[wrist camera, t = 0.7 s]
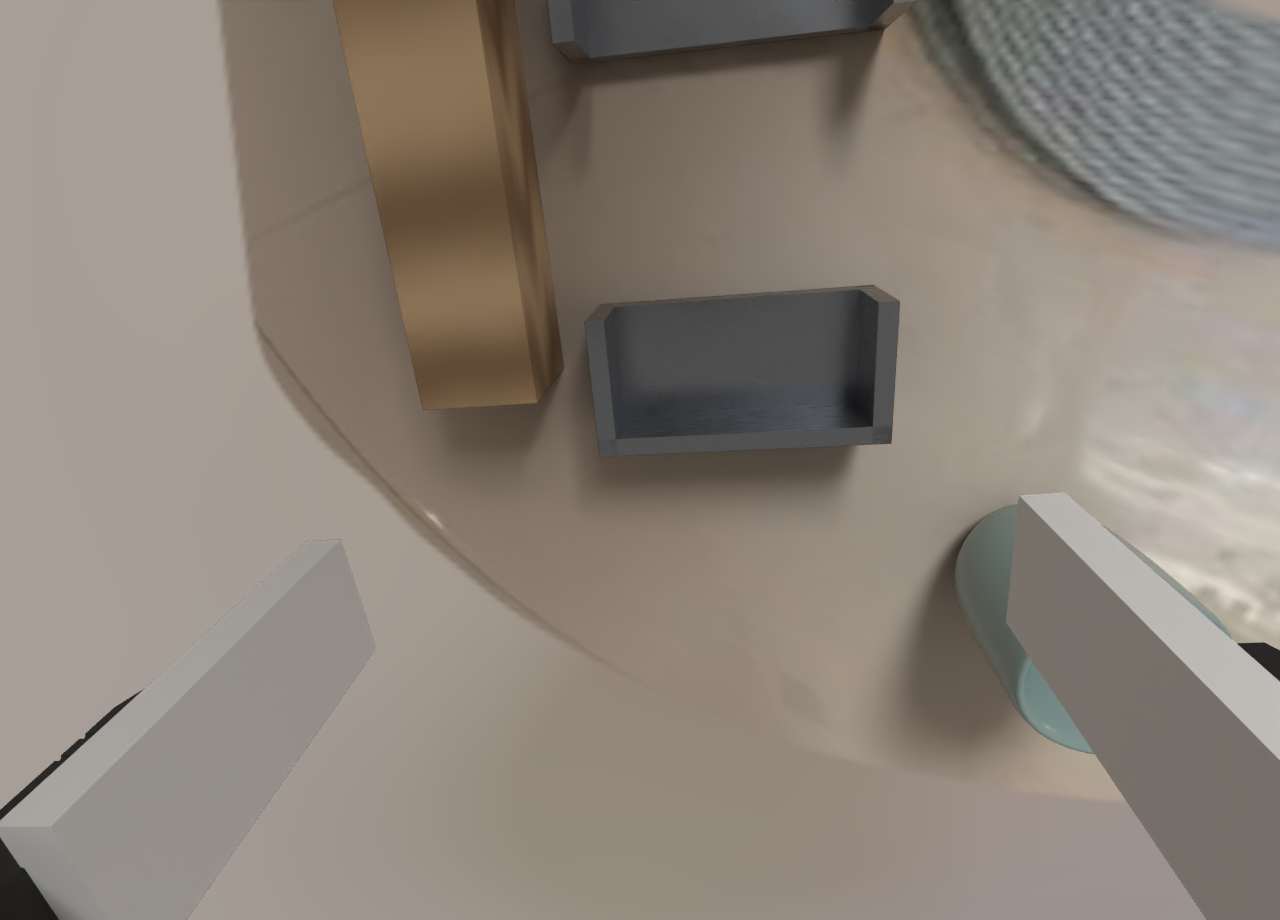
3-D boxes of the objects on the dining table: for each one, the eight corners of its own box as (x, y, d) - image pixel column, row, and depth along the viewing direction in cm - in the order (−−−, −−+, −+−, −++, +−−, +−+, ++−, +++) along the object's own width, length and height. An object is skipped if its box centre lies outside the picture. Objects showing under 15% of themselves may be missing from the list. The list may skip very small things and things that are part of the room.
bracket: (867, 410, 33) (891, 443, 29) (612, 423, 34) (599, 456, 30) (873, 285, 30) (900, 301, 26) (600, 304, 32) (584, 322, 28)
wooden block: (397, 2, 28) (323, -42, 23) (513, -13, 28) (465, -63, 22) (468, 373, 34) (422, 410, 29) (564, 366, 33) (537, 402, 28)
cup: (908, 584, 36) (978, 721, 27) (983, 459, 33) (1091, 566, 24) (1040, 630, 36) (1154, 781, 27) (1127, 511, 33) (1287, 635, 24)
